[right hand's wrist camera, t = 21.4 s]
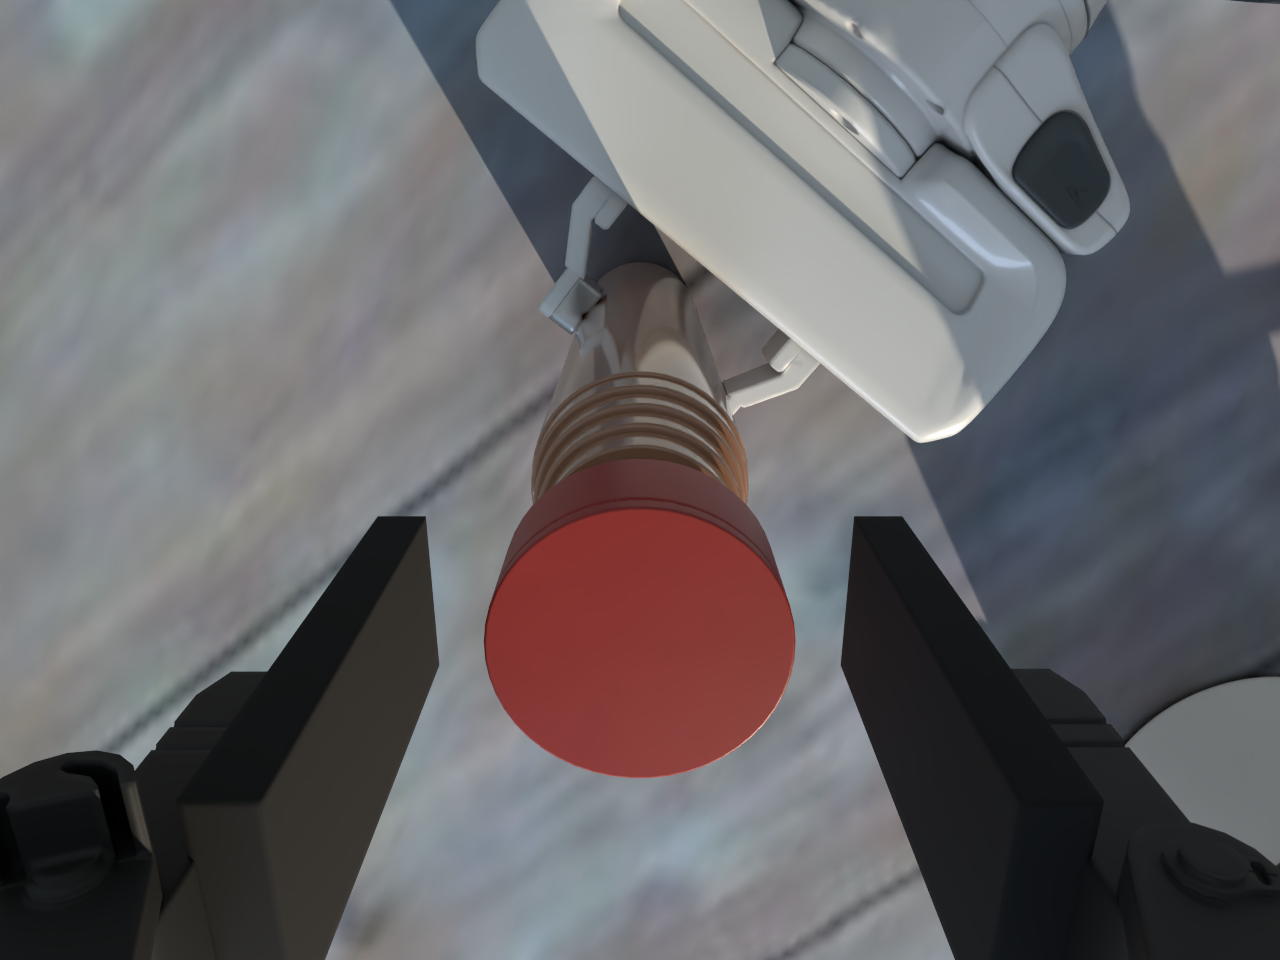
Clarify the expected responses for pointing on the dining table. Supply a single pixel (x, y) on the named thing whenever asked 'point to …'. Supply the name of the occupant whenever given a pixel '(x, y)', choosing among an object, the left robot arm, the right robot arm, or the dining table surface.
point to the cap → (639, 621)
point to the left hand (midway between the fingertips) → (625, 374)
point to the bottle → (640, 387)
